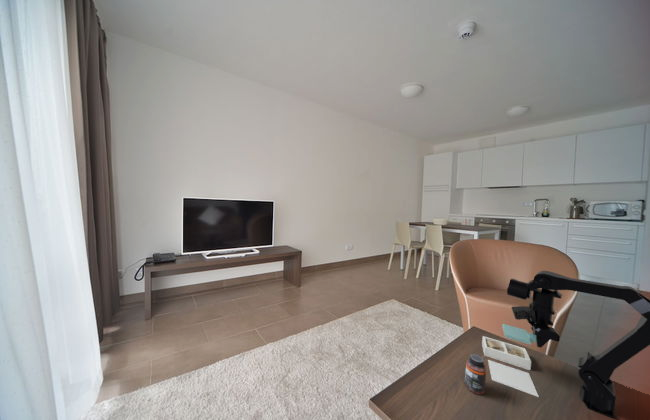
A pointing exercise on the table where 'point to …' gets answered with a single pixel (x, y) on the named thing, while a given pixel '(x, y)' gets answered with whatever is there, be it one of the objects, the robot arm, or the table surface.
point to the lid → (518, 334)
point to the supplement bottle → (475, 374)
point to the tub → (506, 354)
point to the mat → (512, 377)
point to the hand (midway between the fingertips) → (537, 344)
